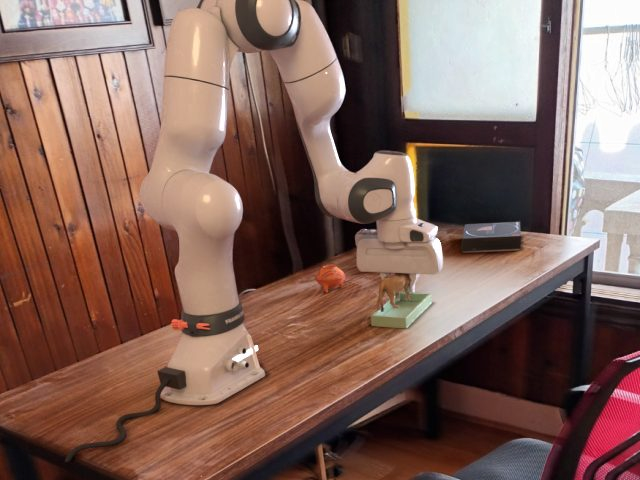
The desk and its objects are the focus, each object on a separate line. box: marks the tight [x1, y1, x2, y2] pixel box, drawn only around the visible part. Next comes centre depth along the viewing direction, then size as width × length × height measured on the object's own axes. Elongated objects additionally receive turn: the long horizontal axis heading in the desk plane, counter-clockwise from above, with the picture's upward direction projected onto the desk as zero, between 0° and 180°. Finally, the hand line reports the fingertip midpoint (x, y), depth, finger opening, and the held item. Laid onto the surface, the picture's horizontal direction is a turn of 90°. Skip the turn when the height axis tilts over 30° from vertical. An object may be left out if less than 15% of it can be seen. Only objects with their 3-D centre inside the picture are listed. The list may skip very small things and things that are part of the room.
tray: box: [370, 291, 433, 329], centre depth 177 cm, size 17×9×2 cm, turn 157°
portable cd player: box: [460, 221, 522, 254], centre depth 222 cm, size 16×17×4 cm
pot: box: [314, 264, 346, 293], centre depth 197 cm, size 8×8×7 cm
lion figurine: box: [376, 273, 413, 312], centre depth 172 cm, size 15×5×9 cm, turn 156°
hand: (400, 291), depth 175 cm, fingers closed on lion figurine, 4 cm apart
